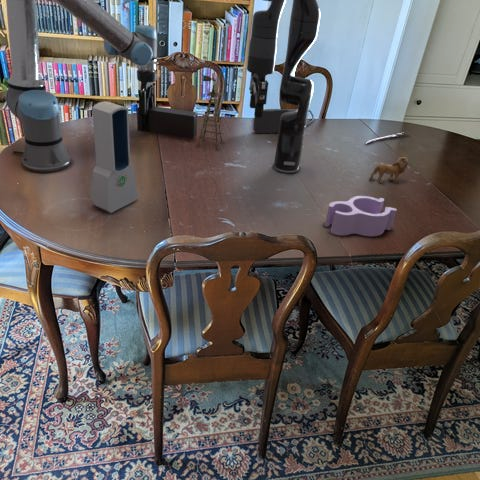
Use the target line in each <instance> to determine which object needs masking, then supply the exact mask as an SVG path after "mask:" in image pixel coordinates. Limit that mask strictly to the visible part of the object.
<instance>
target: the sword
mask: <svg viewBox="0 0 480 480" xmlns="http://www.w3.org/2000/svg"><path fill="white" fill-rule="evenodd" d="M402 133H403V132H400V133H397V132H395V133H393V134H389V135H384V136H381V137H375V138H373V139H369V140H367V141H366V142H365V145H368V144H371V143H374V142H377V141H381V140H385V139H389V138H394V137H400V136H403V135H404V136H405V134H402ZM409 134H410V132H408V134H407V135H409Z"/></svg>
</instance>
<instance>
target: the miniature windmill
mask: <svg viewBox="0 0 480 480" xmlns="http://www.w3.org/2000/svg"><path fill="white" fill-rule="evenodd" d="M219 71H220V68H219V67H218V68H217V71H216V73H215V74H214V76H215V77H213V78H212V77H211V76H209V75H205V74H203V75H202V82H213V85H212V88H211V91H209V92H208V93H207V94H206V95H207V96H208V97H209V99H208V105H206V107H207V108H206V111H205V116H204V118H203V123H202V127H201V130H200V135H199V136H198V138H199V139H198V143H197V146H198V147H200V144H201V141H202V140H213V141H215V146H216V147H215V148H216V150H219V140H220V143H224V142H223V141H224V140H223V133H222V128H221V119H220V109H219V104H218V103H219V102H218V101H219V99H218V97H220V96H221V95H222V92H218V90H219V87H220V82H221V79H220V78H221V76H220V72H219ZM212 104H213V105H214V109H213V108H211V105H212ZM210 111H213V112H210ZM210 115H214V119H209V116H210ZM209 122H214V123H215V124H209ZM208 126H210V127H215V131H211V130H210V131H209V130H207V128H208ZM218 130H219V132H218ZM207 133H210V134H215V138H213V137H212V138H211V137H206V134H207ZM218 135H219V137H218Z"/></svg>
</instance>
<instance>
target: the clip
mask: <svg viewBox="0 0 480 480" xmlns="http://www.w3.org/2000/svg"><path fill="white" fill-rule="evenodd" d="M384 201H385V198H383V197H379V198H376V197H373V196H368V195H357V196H352V197H350V198H349V200H347V201H339V200H338V201H337V200H335V201H332V202H330V203H329V205H328V208H327V214H326V218H325V222H324V227H326V228H329V227H330V226H331V227H330V233H331V234H333V235H336V236H348V235H353V234H356V235H360V236H364V237H365V236H366V237H378V236H381V235H382V234H384V232H385V230H387V231H391V229H392V226H393V222H394V219H395V216H396V213H397V210H398V209H397V208H395V207H391V206H385V207H384V211H383V212H382V209H383V206H384Z"/></svg>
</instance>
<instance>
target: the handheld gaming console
mask: <svg viewBox="0 0 480 480" xmlns="http://www.w3.org/2000/svg"><path fill="white" fill-rule="evenodd" d="M296 110H298V108H265V109H264V108H263V114H262V117H261V118H256V117H255V116H254V117H253V118H254V119H253V126H252V127H253V128H252V129H253V131H254V133H256V134H278V133H279V125H280V118H281V115H282V114H283V113H286V112H293V111H296Z"/></svg>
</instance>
